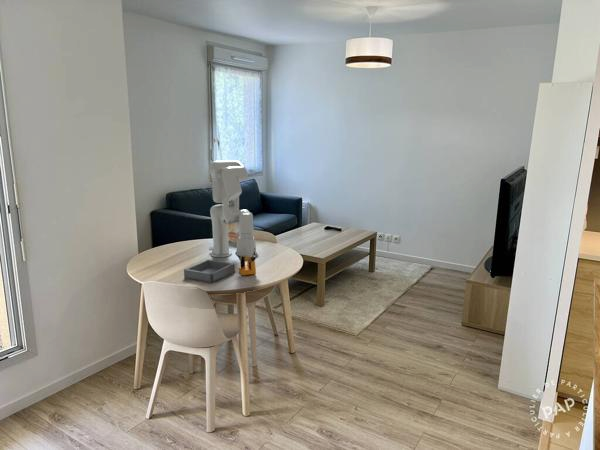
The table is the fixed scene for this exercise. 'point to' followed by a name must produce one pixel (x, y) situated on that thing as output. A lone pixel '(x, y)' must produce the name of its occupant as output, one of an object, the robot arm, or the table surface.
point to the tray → (209, 271)
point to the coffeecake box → (233, 232)
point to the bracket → (246, 269)
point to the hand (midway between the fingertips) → (247, 267)
